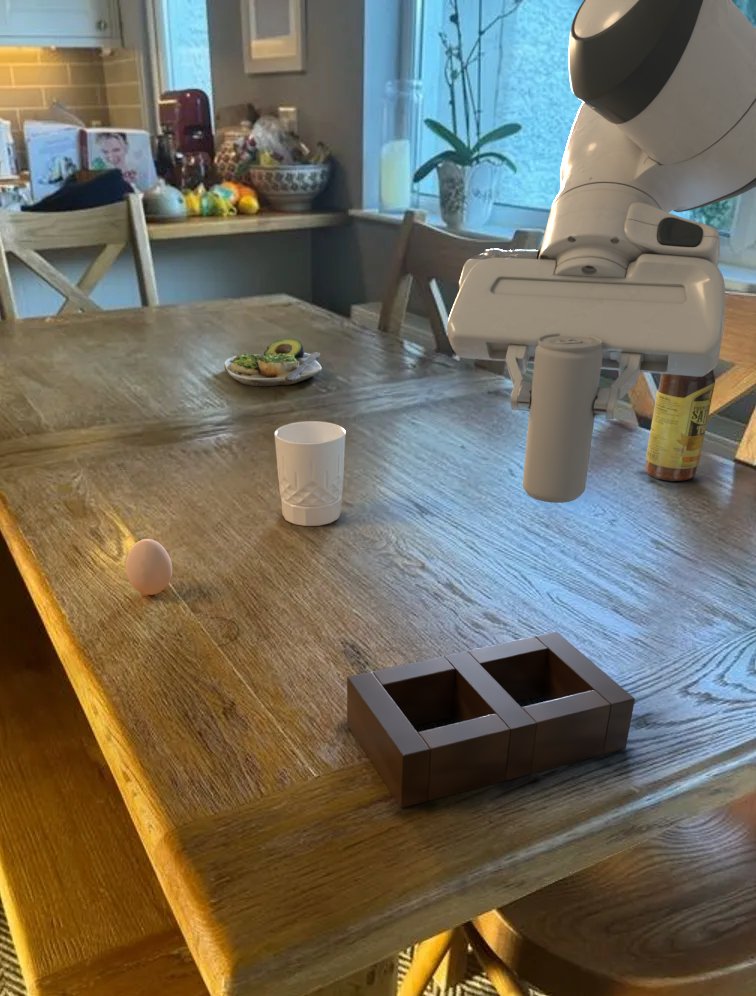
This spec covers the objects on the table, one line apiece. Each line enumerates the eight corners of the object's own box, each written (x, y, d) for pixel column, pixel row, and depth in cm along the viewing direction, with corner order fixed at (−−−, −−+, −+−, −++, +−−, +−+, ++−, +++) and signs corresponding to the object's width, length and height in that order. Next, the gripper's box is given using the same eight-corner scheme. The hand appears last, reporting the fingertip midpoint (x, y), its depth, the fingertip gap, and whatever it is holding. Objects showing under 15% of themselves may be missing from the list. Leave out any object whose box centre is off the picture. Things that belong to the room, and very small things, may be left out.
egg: (180, 584, 90) (175, 532, 88) (165, 605, 87) (159, 552, 84) (139, 580, 91) (132, 529, 89) (121, 601, 88) (114, 548, 85)
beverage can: (594, 502, 70) (616, 345, 64) (535, 507, 69) (551, 349, 63) (568, 480, 74) (587, 330, 68) (512, 484, 73) (526, 334, 68)
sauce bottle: (689, 487, 109) (722, 319, 100) (637, 478, 113) (664, 314, 103) (701, 470, 114) (734, 308, 105) (651, 462, 117) (678, 304, 108)
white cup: (286, 500, 109) (283, 419, 104) (350, 504, 107) (350, 422, 103) (270, 526, 102) (266, 441, 97) (339, 531, 101) (338, 445, 96)
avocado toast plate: (338, 386, 152) (338, 358, 149) (232, 394, 149) (231, 366, 147) (316, 358, 168) (316, 333, 166) (221, 365, 166) (219, 340, 164)
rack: (550, 677, 74) (556, 631, 72) (626, 749, 66) (635, 698, 64) (346, 725, 69) (346, 676, 67) (401, 808, 61) (403, 756, 59)
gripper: (462, 223, 72) (420, 377, 69) (743, 230, 64) (710, 402, 61) (473, 273, 77) (435, 417, 74) (732, 284, 70) (701, 445, 67)
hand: (561, 411), depth 68 cm, fingers closed on beverage can, 5 cm apart
